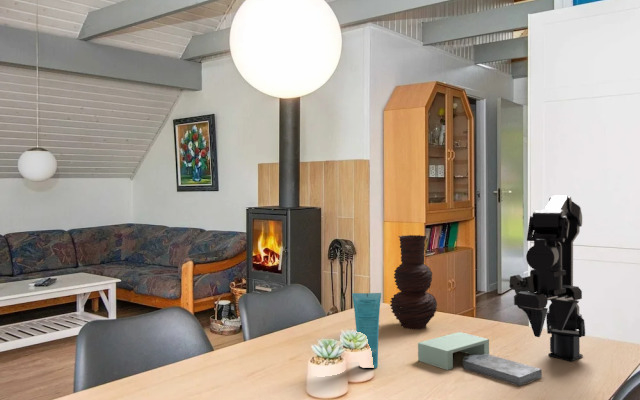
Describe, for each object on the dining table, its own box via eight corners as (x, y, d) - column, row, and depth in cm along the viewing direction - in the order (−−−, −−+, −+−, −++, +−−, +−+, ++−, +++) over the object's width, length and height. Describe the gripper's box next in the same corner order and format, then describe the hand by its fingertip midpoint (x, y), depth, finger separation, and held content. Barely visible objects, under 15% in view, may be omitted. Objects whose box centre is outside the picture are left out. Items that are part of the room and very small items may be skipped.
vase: (382, 323, 191) (381, 235, 190) (423, 319, 196) (422, 233, 195) (402, 334, 177) (401, 239, 176) (446, 329, 181) (444, 237, 180)
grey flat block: (541, 378, 136) (541, 369, 135) (519, 386, 130) (519, 377, 130) (479, 360, 150) (479, 351, 150) (457, 367, 145) (457, 358, 144)
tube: (380, 363, 149) (379, 290, 148) (384, 369, 144) (382, 294, 143) (352, 364, 148) (351, 291, 147) (355, 370, 143) (354, 295, 143)
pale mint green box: (489, 356, 152) (489, 339, 152) (447, 370, 142) (447, 351, 142) (459, 348, 160) (459, 331, 160) (418, 360, 150) (418, 342, 150)
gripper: (539, 259, 141) (540, 321, 141) (493, 265, 130) (493, 333, 130) (582, 263, 132) (583, 329, 132) (537, 270, 121) (537, 343, 121)
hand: (548, 333), depth 129 cm, fingers open, 9 cm apart
